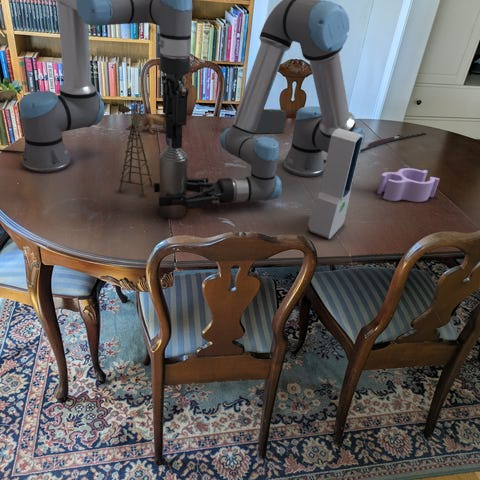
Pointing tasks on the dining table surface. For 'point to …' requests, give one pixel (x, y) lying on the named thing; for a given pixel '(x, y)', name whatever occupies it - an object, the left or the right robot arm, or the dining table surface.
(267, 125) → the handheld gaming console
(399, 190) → the clip
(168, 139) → the cap
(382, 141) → the sword
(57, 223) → the dining table surface
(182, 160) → the bottle
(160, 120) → the lion figurine
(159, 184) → the right robot arm
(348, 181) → the electronic device
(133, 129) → the miniature windmill
